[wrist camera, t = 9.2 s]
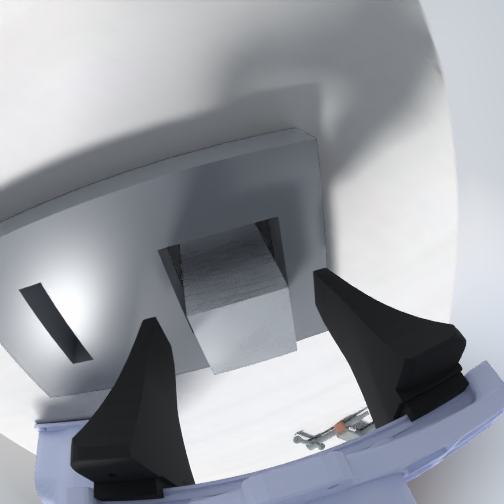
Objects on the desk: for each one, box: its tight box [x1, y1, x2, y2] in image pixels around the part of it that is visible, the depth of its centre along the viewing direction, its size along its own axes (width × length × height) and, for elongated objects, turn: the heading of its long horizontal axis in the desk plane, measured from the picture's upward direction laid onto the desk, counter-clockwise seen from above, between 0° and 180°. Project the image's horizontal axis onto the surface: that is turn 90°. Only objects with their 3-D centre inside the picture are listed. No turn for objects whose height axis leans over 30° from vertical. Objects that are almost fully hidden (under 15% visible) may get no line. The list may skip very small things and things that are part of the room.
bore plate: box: [0, 128, 328, 398], centre depth 16 cm, size 20×12×2 cm, turn 101°
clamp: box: [294, 411, 376, 450], centre depth 36 cm, size 15×2×10 cm
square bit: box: [180, 223, 297, 375], centre depth 16 cm, size 4×4×6 cm
